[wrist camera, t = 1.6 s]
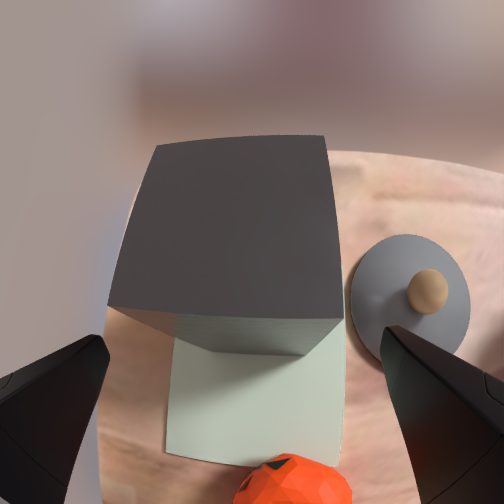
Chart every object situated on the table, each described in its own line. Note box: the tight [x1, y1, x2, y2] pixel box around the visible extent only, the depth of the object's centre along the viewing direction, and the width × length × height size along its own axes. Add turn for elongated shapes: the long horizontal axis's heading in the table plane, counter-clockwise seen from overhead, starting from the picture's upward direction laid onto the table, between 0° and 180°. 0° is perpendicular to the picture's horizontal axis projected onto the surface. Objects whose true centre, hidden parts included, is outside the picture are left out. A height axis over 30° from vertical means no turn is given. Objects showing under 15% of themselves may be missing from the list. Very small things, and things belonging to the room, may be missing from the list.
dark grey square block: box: [107, 135, 344, 356], centre depth 13 cm, size 6×6×12 cm
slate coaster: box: [350, 234, 470, 363], centre depth 17 cm, size 11×11×1 cm
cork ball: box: [407, 269, 448, 315], centre depth 16 cm, size 3×3×3 cm
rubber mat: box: [166, 263, 346, 467], centre depth 17 cm, size 15×12×1 cm
